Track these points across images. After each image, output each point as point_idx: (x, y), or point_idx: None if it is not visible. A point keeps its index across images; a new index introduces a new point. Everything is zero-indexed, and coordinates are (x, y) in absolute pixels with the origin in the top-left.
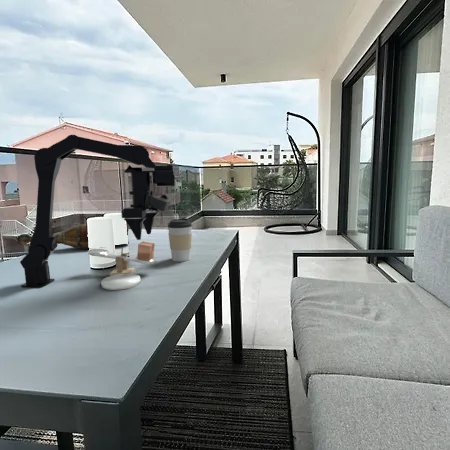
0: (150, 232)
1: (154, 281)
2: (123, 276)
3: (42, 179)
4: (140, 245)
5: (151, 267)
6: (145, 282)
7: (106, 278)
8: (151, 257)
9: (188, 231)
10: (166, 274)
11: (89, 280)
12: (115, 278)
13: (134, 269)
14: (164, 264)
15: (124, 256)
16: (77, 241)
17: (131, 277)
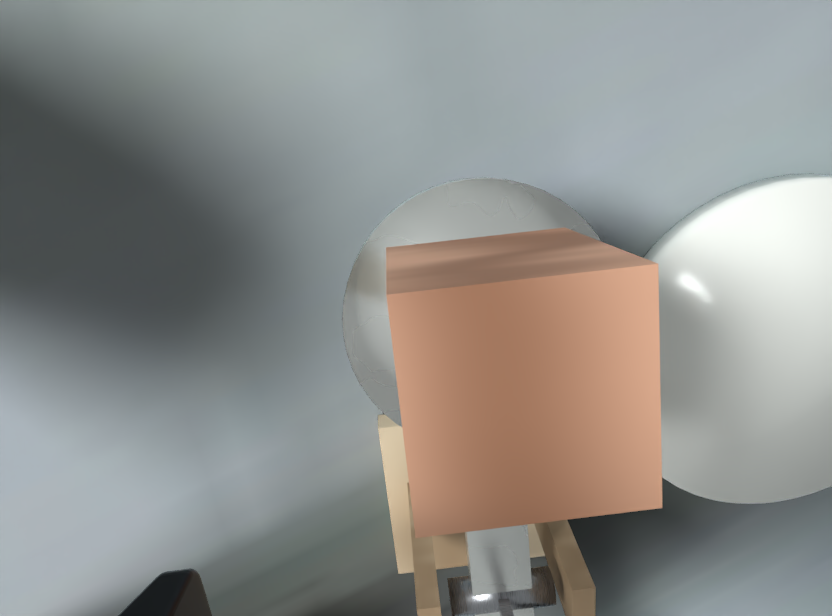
0: (180, 592)
1: (719, 44)
2: (702, 382)
3: None
4: (652, 454)
5: (238, 303)
6: (748, 130)
7: (756, 488)
8: (482, 241)
9: None
10: (464, 5)
11: (685, 604)
12: (760, 419)
13: (390, 420)
14: (77, 207)
15: (473, 585)
16: None
17: (737, 293)
